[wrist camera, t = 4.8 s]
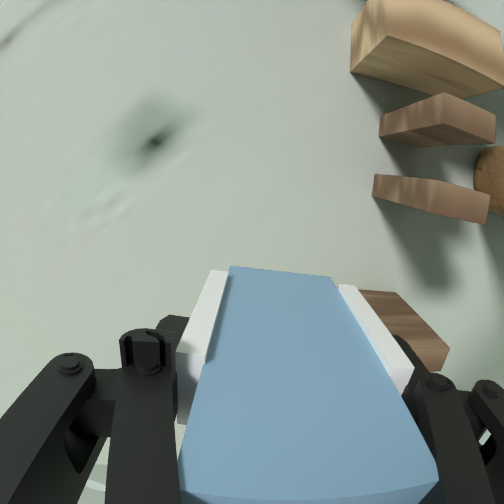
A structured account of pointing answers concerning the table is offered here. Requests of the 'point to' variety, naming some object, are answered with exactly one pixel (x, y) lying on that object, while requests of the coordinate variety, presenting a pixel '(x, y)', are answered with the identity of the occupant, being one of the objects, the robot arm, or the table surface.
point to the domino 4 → (408, 327)
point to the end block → (427, 47)
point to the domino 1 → (297, 405)
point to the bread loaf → (491, 177)
